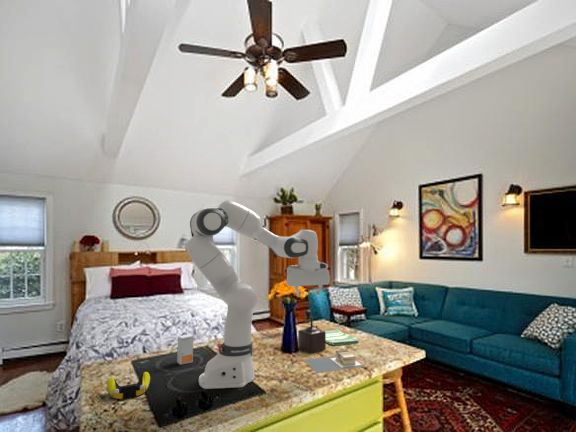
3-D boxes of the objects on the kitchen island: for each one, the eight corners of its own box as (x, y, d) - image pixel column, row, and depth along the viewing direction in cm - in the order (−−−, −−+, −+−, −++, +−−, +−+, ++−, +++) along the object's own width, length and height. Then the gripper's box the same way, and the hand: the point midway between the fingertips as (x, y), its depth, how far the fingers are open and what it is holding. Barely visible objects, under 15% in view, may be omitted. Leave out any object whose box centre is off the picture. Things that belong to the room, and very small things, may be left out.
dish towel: (338, 332, 212) (338, 328, 212) (360, 343, 190) (360, 338, 191) (312, 335, 206) (312, 330, 206) (331, 347, 184) (331, 342, 184)
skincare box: (180, 365, 158) (181, 338, 158) (176, 362, 161) (177, 336, 162) (193, 362, 161) (193, 335, 162) (189, 359, 165) (189, 333, 165)
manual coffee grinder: (327, 350, 178) (327, 314, 179) (310, 354, 172) (309, 317, 173) (308, 342, 191) (308, 308, 192) (292, 345, 185) (292, 311, 186)
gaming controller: (106, 391, 131) (105, 403, 122) (106, 376, 132) (106, 387, 123) (149, 384, 138) (151, 394, 129) (149, 370, 138) (152, 379, 129)
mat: (316, 374, 148) (316, 372, 148) (303, 361, 163) (303, 359, 163) (365, 367, 155) (365, 366, 155) (348, 355, 170) (348, 354, 170)
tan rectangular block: (355, 364, 157) (355, 355, 157) (344, 365, 155) (344, 357, 156) (346, 357, 166) (346, 349, 166) (335, 358, 164) (335, 350, 164)
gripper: (288, 265, 154) (288, 297, 154) (331, 264, 161) (331, 295, 160) (284, 264, 160) (284, 295, 160) (325, 263, 167) (325, 293, 166)
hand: (308, 295), depth 160 cm, fingers open, 8 cm apart
